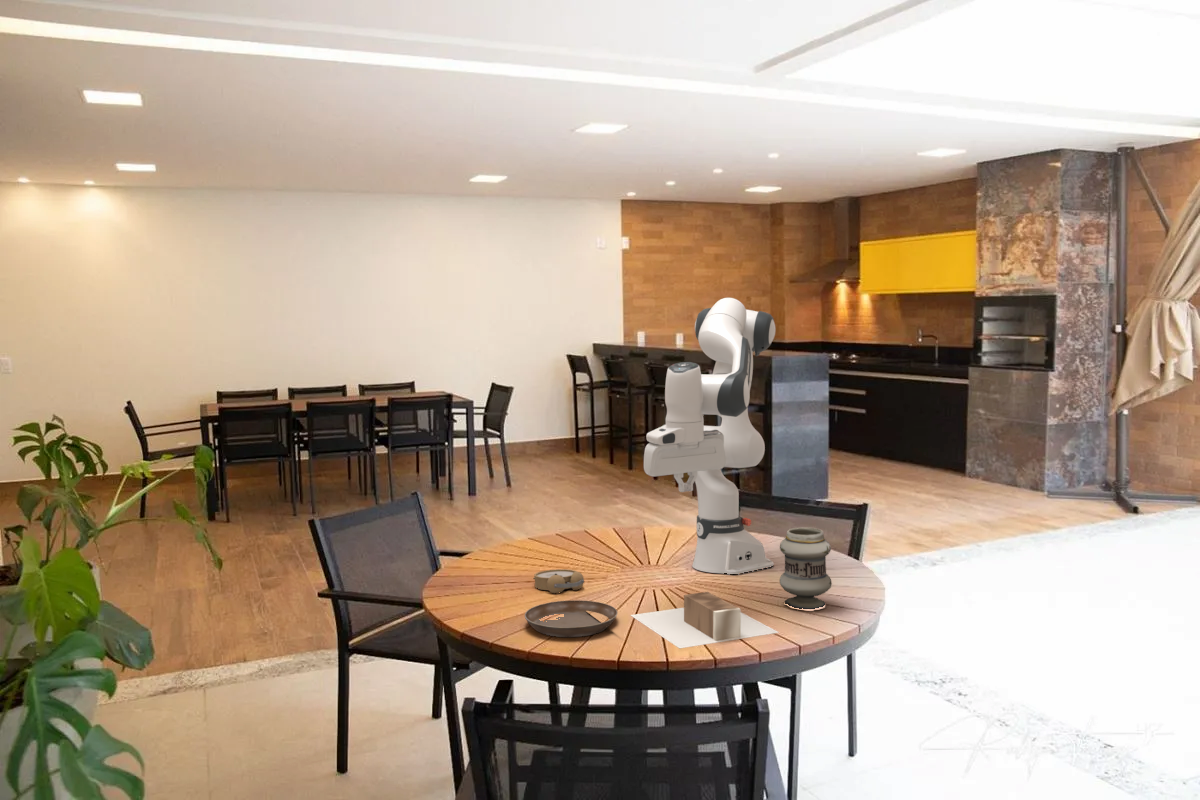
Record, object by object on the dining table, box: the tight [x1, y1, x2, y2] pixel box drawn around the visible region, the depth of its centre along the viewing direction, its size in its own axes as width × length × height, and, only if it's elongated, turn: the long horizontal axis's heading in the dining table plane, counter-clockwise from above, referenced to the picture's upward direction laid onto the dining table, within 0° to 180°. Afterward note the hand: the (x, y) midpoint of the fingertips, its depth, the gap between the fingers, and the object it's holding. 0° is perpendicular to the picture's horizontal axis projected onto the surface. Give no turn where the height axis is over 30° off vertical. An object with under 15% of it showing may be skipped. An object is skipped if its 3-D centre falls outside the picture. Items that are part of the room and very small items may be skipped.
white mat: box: [629, 607, 780, 650], centre depth 204 cm, size 24×24×1 cm
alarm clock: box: [533, 568, 585, 594], centre depth 236 cm, size 11×5×15 cm
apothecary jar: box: [779, 527, 833, 609], centre depth 219 cm, size 12×12×18 cm
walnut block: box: [683, 591, 742, 641], centre depth 200 cm, size 6×6×14 cm
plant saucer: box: [524, 599, 619, 638], centre depth 206 cm, size 21×21×3 cm
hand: (685, 491), depth 217 cm, fingers closed
